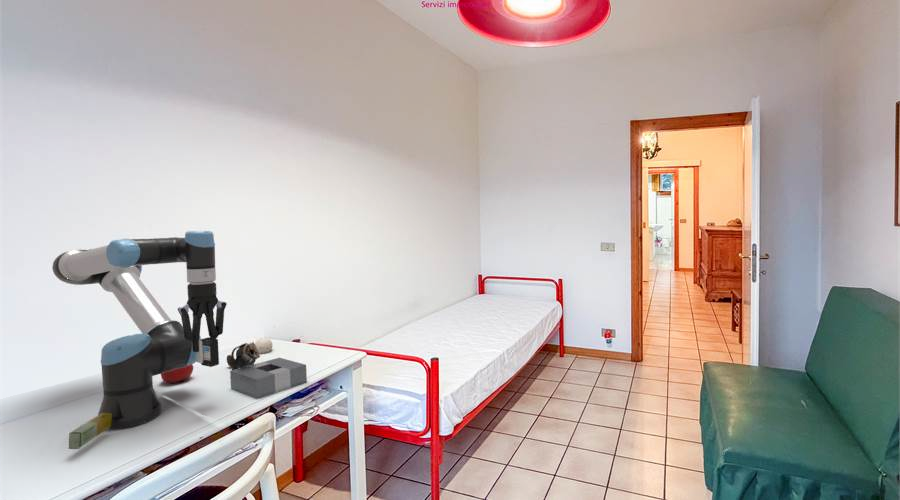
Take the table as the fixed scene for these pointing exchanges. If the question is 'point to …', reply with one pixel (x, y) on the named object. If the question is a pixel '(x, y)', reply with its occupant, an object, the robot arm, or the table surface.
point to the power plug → (243, 361)
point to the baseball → (263, 345)
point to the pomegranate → (177, 374)
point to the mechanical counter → (243, 352)
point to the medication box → (89, 430)
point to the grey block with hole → (268, 377)
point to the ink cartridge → (210, 352)
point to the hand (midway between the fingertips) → (205, 360)
